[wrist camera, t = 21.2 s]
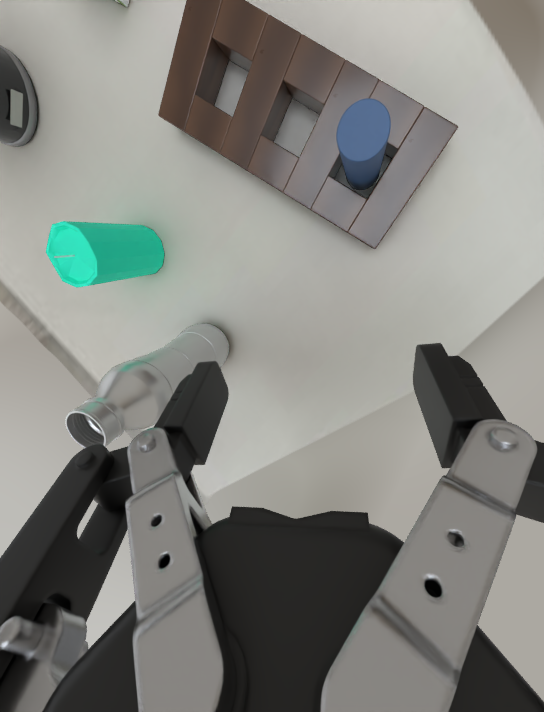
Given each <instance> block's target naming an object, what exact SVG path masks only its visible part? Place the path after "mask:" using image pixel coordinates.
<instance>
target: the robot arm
mask: <svg viewBox="0 0 544 712" xmlns="http://www.w3.org/2000/svg"><path fill="white" fill-rule="evenodd" d="M36 124H37V102H36V97H35V92H34V89H33V86H32V83H31V80H30V78H29V76H28V74H27V72H26V70H25V68H24V67H23V65H22V64H21V62H20V61H19V60H18V59H17V57H16V56H15V55H14V54H13V53H11V52H10V51H9V50H8V49H6V48H4V47H2V46H0V142H1V143H4V144H7V145H11V146H22V145H24V144H26V143H27V142H28V141H29V140H30V139H31V138H32V136H33V134H34V131H35V128H36ZM413 385H414V390H415V394H416V396H417V399H418V402H419V405H420V408H421V411H422V413H423V416H424V419H425V422H426V425H427V427H428V430H429V433H430V436H431V439H432V442H433V444H434V447H435V450H436V453H437V455H438V458H439V461H440V464H441V467H442V468H450V470H449V471H448V473H447V475H446V476H442V478H441V479H440V481H439V482H438V484H437V486H436V487H435V489H434V491H433V493H432V495H431V496H430V498H429V500H428V502H427V503H426V505H425V507H424V509H423V510H422V512H421V514H420V516H419V518H418V519H417V521H416V523H415V525H414V526H413V528H412V530H411V532H410V533H409V535H408V537H407V539H406V541H405V542H403V541H401V540H400V539H398V538H397V537H396V536H394V535H393V534H391V533H390V532H388V531H386V530H384V529H382V528H380V527H378V526H375V525H372V524H369V521H368V513H362V512H340V511H330V512H326V513H321V514H317V515H312V516H308V517H303V518H298V519H294V518H290V517H287V516H284V515H282V514H279V513H276V512H273V511H270V510H267V509H264V508H251V507H232V509H231V513H230V517H228V518H225V519H223V520H220V521H218V522H216V523H214V524H212V523H211V521H210V519H209V517H208V515H207V512H206V510H205V507H204V504H203V501H202V498H201V496H200V493H199V490H198V487H197V484H196V482H195V479H194V476H193V474H192V472H191V471H192V468H193V465H205V462H206V460H207V457H208V454H209V451H210V448H211V446H212V443H213V440H214V437H215V434H216V432H217V429H218V426H219V423H220V420H221V418H222V415H223V412H224V409H225V406H226V404H227V401H228V387H227V384H226V382H225V379H224V377H223V374H222V372H221V369H220V367H219V364H218V363H217V362H216V361H207V362H199V363H197V365H196V367H195V368H194V370H193V372H192V374H188V375H187V376H186V377H185V378H184V379H183V380H182V381H181V382H180V383H179V384H178V386H177V388H176V390H175V391H174V392H175V393H173V395H172V397H171V398H170V401H169V402H168V404H167V405H166V407H165V409H164V411H163V412H162V414H161V416H160V417H159V419H158V421H157V423H156V424H155V426H154V428H150V429H147V430H145V431H143V432H141V433H140V434H138V435H137V436H136V437H135V438H134V439H133V440H132V442H131V443H130V445H129V446H128V447H125V448H121V449H118V450H114V451H111V452H109V451H108V450H107V448H106V447H105V446H104V445H101V444H95V445H91V446H89V447H86V448H85V449H83V450H81V451H80V452H79V453H78V454H76V455H75V456H74V457H73V458H72V459H71V460H70V462H69V463H68V465H67V466H66V467H65V469H64V470H63V472H62V473H61V474H60V476H59V477H58V478H57V480H56V481H55V483H54V484H53V485H52V487H51V488H50V490H49V491H48V493H47V494H46V495H45V497H44V498H43V499H42V501H41V502H40V504H39V505H38V506H37V508H36V509H35V511H34V512H33V514H32V515H31V516H30V518H29V519H28V520H27V522H26V523H25V525H24V526H23V527H22V529H21V530H20V531H19V533H18V534H17V536H16V537H15V539H14V540H13V541H12V543H11V544H10V546H9V547H8V548H7V550H6V551H5V552H4V554H3V555H2V557H1V558H0V712H544V702H543V700H541V698H540V697H539V696H538V695H537V693H536V692H535V691H534V690H533V689H532V688H531V687H530V685H529V684H528V683H527V682H526V681H525V680H524V678H523V677H522V676H521V675H520V674H519V673H518V672H517V670H516V669H515V668H514V667H513V666H512V665H511V663H510V662H509V661H508V660H507V659H506V658H505V657H504V656H503V654H502V653H501V652H500V651H499V650H498V648H497V647H496V646H495V645H494V644H493V643H492V642H491V640H490V639H489V638H488V637H487V636H486V635H485V633H484V632H483V631H482V630H481V629H480V628H479V626H478V625H477V624H478V621H479V619H480V616H481V613H482V610H483V607H484V605H485V602H486V599H487V597H488V594H489V591H490V588H491V585H492V583H493V580H494V577H495V574H496V572H497V569H498V566H499V563H500V560H501V558H502V555H503V552H504V549H505V547H506V543H507V541H508V538H509V535H510V532H511V530H512V527H513V524H514V521H515V518H516V514H517V515H520V516H523V517H526V518H530V519H533V520H536V521H539V522H543V523H544V443H541V442H538V441H535V440H534V439H533V438H532V437H531V436H530V434H528V433H527V432H526V431H525V430H523V429H522V428H520V427H519V426H517V425H514V424H512V423H509V422H507V421H506V419H505V418H504V416H503V415H502V413H501V411H500V410H499V408H498V407H497V405H496V404H495V402H494V401H493V399H492V397H491V396H490V394H489V393H488V391H487V389H486V388H485V387H484V386H483V383H482V382H481V380H480V378H479V377H477V374H476V372H475V371H474V369H473V368H472V366H471V364H469V363H468V362H466V361H465V360H463V359H462V358H461V357H459V356H448V355H447V353H446V351H445V349H444V348H443V346H442V344H441V343H435V344H422V345H417V347H416V353H415V362H414V372H413ZM93 500H95V501H96V502H97V503H98V505H97V507H96V509H95V511H94V513H93V514H92V516H91V518H90V520H89V522H88V523H87V525H86V527H85V529H84V531H83V532H82V534H81V536H80V538H79V539H78V537H77V528H78V525H79V523H80V521H81V520H82V518H83V516H84V514H85V513H86V511H87V509H88V507H89V506H90V504H91V502H92V501H93ZM127 529H128V534H129V544H130V554H131V564H132V573H133V583H134V592H135V601H134V602H133V603H132V604H131V606H130V607H129V608H128V609H127V610H126V611H125V612H124V613H123V614H122V615H121V616H120V617H119V618H118V619H117V620H116V621H115V622H114V624H112V626H110V628H108V630H107V631H106V632H105V633H104V634H103V635H102V636H101V637H100V638H99V639H98V640H97V641H96V642H95V643H94V644H93V645H92V646H91V647H90V649H88V643H87V642H86V641H85V639H86V632H87V629H86V628H87V626H86V621H87V619H88V617H89V614H90V612H91V610H92V608H93V605H94V603H95V601H96V599H97V597H98V594H99V592H100V590H101V588H102V585H103V583H104V581H105V579H106V576H107V574H108V572H109V569H110V567H111V565H112V563H113V560H114V558H115V556H116V554H117V551H118V549H119V547H120V545H121V543H122V540H123V538H124V536H125V534H126V531H127Z"/></svg>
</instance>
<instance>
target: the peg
mask: <svg viewBox="0 0 544 712" xmlns="http://www.w3.org/2000/svg"><path fill="white" fill-rule="evenodd" d="M390 129H391V119H390V115H389V112H388V110H387V108H386V107H385V106H384V105H383V104H382V103H381V102H380V101H378V100H375V99H370V98H368V99H362V100H359V101H357V102H355V103H354V104H352V105H351V106H350V107H349V108H348V109H347V110H346V111H345V112H344V114H343V115H342V117H341V119H340V121H339V124H338V128H337V134H336V139H337V145H338V149H339V152H340V156H341V159H342V163H343V166H344V170H345V174H346V177H347V181H348V183H349V184H350V186H351V187H353V188H355V189H357V190H363V189H367V188H369V187H370V186H372V185H373V184H374V182H375V181H376V180H377V178H378V175H379V172H380V168H381V164H382V161H383V157H384V153H385V149H386V145H387V142H388V138H389V134H390Z"/></svg>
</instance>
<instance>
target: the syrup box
mask: <svg viewBox="0 0 544 712" xmlns="http://www.w3.org/2000/svg"><path fill="white" fill-rule="evenodd" d="M115 1H116V2H118V3H120V4H122V5H124V6H125V7H128V4H129V0H115Z"/></svg>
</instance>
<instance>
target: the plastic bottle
mask: <svg viewBox="0 0 544 712" xmlns="http://www.w3.org/2000/svg"><path fill="white" fill-rule="evenodd" d="M228 354H229V343H228V340H227V338H226V336H225V335H224V333H223V332H222V331H221V330H220V329H218V328H217V327H215V326H213V325H211V324H206V323H202V324H196V325H192V326H189V327H188V328H186V329H185V330H184V331H182V332H181V333H180V334H179V335H178V336H177V337H176V338H175V339H174V340H172V341H171V342H170V343H168V344H167V345H165V346H164V347H162V348H160V349H158V350H156V351H153V352H151V353H149V354H147V355H144V356H141V357H138V358H135V359H132V360H129V361H126V362H123V363H121V364H119V365H116V366H114V367H113V368H111V369H110V370H109V371H108V372H107V373H106V374H105V376H104V377H103V378H102V379H101V381H100V384H99V386H98V388H97V391H96V395H95V397H93V398H90V399H88V400H86V401H85V402H83V403H82V404H81V406H79V407H77V408H76V409H74V410H72V411H71V412H70V413H69V414H68V415H67V416H66V420H65V423H66V428H67V430H68V432H69V434H70V436H71V437H72V438H73V439H74V440H75V441H76V442H77V443H78V444H79V445H81V446H82V447H84V448H86V447H89V446H91V445H95V444H101V445H104V446H105V447H106V446H107V445H108V444H109V443H110V442H111V441H113V440H115V439H117V438H118V437H120V436H121V435H122V434H123V432H124V430H137V429H145V428H147V427H150V426H152V425H154V424H156V423H157V421H158V419H159V417H160V416H161V414H162V412H163V411H164V409H165V407H166V405H167V404H168V402H169V401H170V398H171V397H172V395H173V393H175V392H174V391H175V390H176V388H177V386H178V384H179V383H180V382H181V381H182V380H183V379H184V378H185V377H186V376H187V375H188V374H192V372H193V370H194V368H195V367H196V365H197V363H199V362H207V361H216V362H217V363H218V364H219V367H221V366H222V365H223V364H224V362H225V360H226V359H227V357H228Z"/></svg>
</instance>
